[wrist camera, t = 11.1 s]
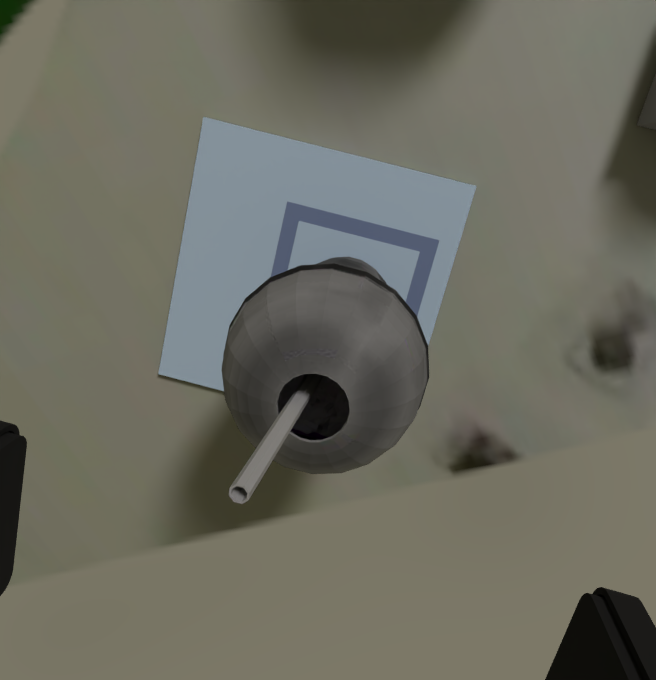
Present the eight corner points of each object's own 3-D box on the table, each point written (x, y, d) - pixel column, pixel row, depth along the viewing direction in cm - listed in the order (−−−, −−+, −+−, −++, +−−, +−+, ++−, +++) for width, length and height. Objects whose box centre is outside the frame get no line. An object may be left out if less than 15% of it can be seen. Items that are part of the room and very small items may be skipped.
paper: (475, 185, 31) (476, 186, 31) (400, 435, 35) (400, 437, 35) (205, 117, 31) (203, 116, 31) (160, 372, 35) (158, 374, 35)
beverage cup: (426, 350, 33) (484, 601, 14) (294, 376, 34) (181, 644, 15) (398, 215, 32) (423, 291, 12) (261, 246, 33) (85, 362, 13)
